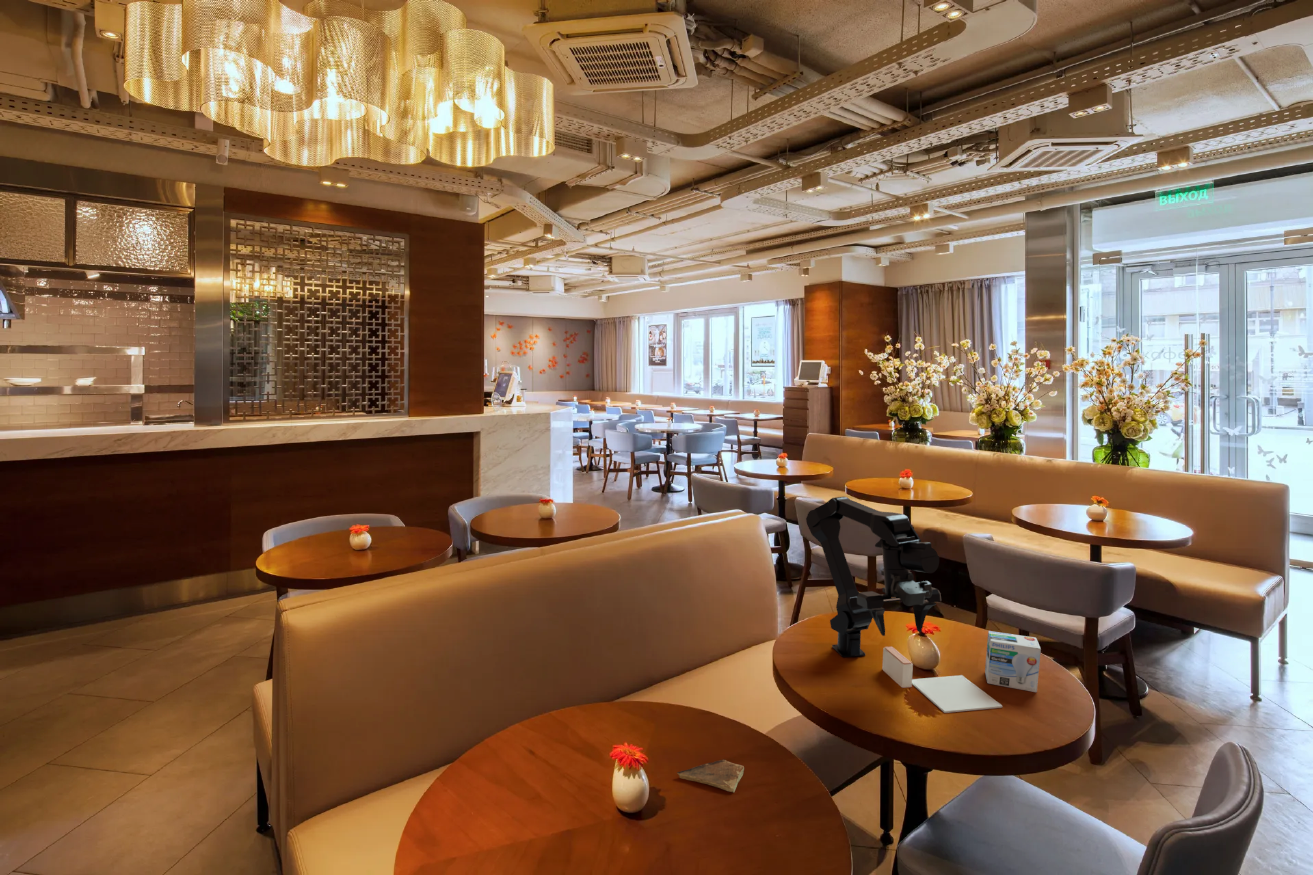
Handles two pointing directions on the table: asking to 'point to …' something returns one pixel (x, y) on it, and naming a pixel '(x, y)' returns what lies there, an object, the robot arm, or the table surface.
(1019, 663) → the light bulb box
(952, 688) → the mat
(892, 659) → the domino block
